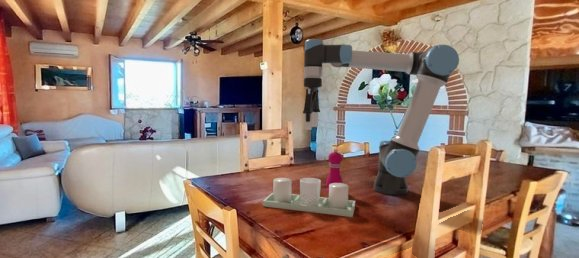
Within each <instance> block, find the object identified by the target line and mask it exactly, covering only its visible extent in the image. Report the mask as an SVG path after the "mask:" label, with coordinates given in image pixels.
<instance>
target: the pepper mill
mask: <svg viewBox="0 0 579 258" xmlns="http://www.w3.org/2000/svg"><path fill="white" fill-rule="evenodd" d="M327 158H328V161H329V163H328V164H329V174H328V176H327V179H326V183H325V186H326V187H327V189H326V192H327V193H328V194H329V184H331V183H343V179H342V176H341V170H340V169H341V167H342V166H341V165H342V164H341V163H342V161H343V155H342V153H340V152H338V148H334V149H333V151H332V152H330V153H329V155H328V157H327ZM343 184H344V183H343Z"/></svg>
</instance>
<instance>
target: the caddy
mask: <svg viewBox="0 0 579 258" xmlns="http://www.w3.org/2000/svg"><path fill="white" fill-rule="evenodd" d="M328 206H329V197H322V196H320V199H319V206H309V205H301V199H300V194H295V193H291V203H283V202H275V201H273V192H271V193H270V194H269V195H268V196H267V197H265V198H264V199H263V200H262V207H267V208H276V209H282V210H283V209H284V210H291V211H299V212H300V211H301V212H307V213H316V214H324V215H333V216H341V217H347V218H348V217H350V218H353V216H354V214H355V213H354V212H355V209H356V208H355V207H356V200H351V199H350V200H349V199H348V210H344V209H335V208H328Z"/></svg>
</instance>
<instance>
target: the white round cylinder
mask: <svg viewBox="0 0 579 258" xmlns="http://www.w3.org/2000/svg"><path fill="white" fill-rule="evenodd" d="M328 198H329V206H328V208H335V209H344V210H348V200H349V185H348V184H346V183H331V184H329V193H328Z"/></svg>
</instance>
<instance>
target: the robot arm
mask: <svg viewBox="0 0 579 258" xmlns="http://www.w3.org/2000/svg"><path fill="white" fill-rule="evenodd" d="M303 54H304V57H303V60H304V61H303V62H304V63H303V64H304V65H303V67H304V69H303V70H302V72H303V77H304V78H303V87H304V88H306V89H305V99H304V107H303V108H304V109H303V111H302V114H304V130H305V131H311V130H312V128H318V127H319V113H320V112H321V110H320V98H319V89H317V88H322V86H323V79H322V77H323V64H330V65H331V66H332V67H334V68H351V69H352V68H353V69H365V70H366V69H367V70H380V71H381V70H382V71H391V72H403V73H406V74H407V75H411V76H412V75H413V76H416V78H417V83H416V86H415V89H414V91H413V93H412V96H411V99H410V101H409V103H408V106H407V109H406V111H405V114H404V116H403V119H402V121H401V124H400V126H399V129H398V131H397V134H396V136H394V137H392V138H391V139H390V140H381V141H379V146H378V148H379V150H378V168H377V169H378V172H377V174H376V177H375V179H374V183H373V190H374V191H375V192H378V193H380V194H385V195H390V196H401V195H402V196H403V195H406V194H408V193H409V185H408V181H407V177H409V176H411V174H413V173H414V172H415V170H416V168H417V166H418V165H417V164H418V163H417V156H418V154H419V152H420V149H421V148H420V147H419V145H418V143H419V141H420V140H421V136H422V134H423V131H424V129H425V126H426V124H427V121H428V119H429V116H430V114H431V111H432V109H433V107H434V105H435V102H436V99H437V97H438V94H439V92H440V89H441V87H444V86H445V85H447V83H448V81H449V78H450V77H451V74H452V73H453V72H455V71H456V70H457V68H458V65H459V62H460V56H459V54H458V51H457V50H456V49H455V48H454V47H452V46H451V45H449V44H436V45H434V46H432V47H431V48H429V49H427V50H424V51H417V52H415V51H410V52H408V53H396V52H395V53H394V52H379V51H367V50H365V51H364V50H363V51H362V50H353V46H352V44H343V43H342V44H324V42H323V39H321V38H320V39H319V38H310V39H309V38H308V39H307V40H305V42H304V53H303Z"/></svg>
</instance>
